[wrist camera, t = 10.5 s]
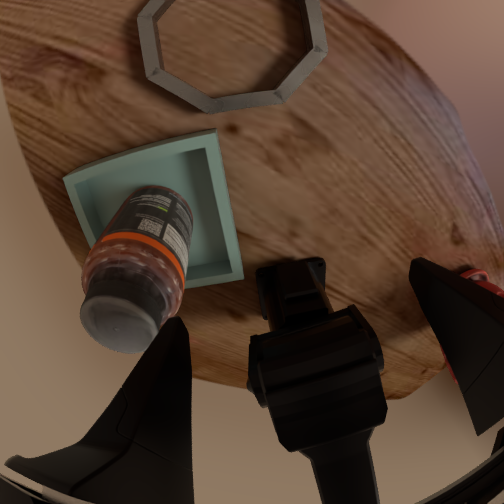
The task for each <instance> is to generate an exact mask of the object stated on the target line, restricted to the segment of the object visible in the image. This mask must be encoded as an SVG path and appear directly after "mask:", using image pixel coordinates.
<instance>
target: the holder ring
mask: <svg viewBox="0 0 504 504" xmlns="http://www.w3.org/2000/svg"><path fill="white" fill-rule="evenodd" d="M174 1H175V0H150V1H149V2H148V3H147V5H146V6H145V7H144V8H143V9H142V11H141V12H140V13H139V14H138V18H137V23H138V30H139V37H140V43H141V50H142V56H143V61H144V67H145V73H146V78H148V80H150V81H152V82H154V83H156V84H157V85H159V86H161V87H163V88H165V89H166V90H168V91H170V92H172V93H173V94H175V95H177V96H179V97H180V98H182V99H184V100H185V101H187V102H189V103H190V104H192V105H194V106H195V107H197V108H199V109H200V110H202V111H204V112H205V113H207V114H208V112H209V113H210V114H214V113H219V112H225V111H230V110H237V109H243V108H250V107H257V106H265V105H274V104H283V102H286V101H287V100H288V98H289V97H290V96H291V95H292V94H293V92H294V91H295V90H296V89H297V88H298V87H299V86H300V84H301V83H302V82H303V81H304V80H305V79H306V78H307V76H308V75H309V74H310V73H311V72H312V71H313V70H314V69H315V67H316V66H317V65H318V64H319V63H320V62H321V61H322V60H323V59H324V58H325V57H326V55H327V53H328V47H327V41H326V34H325V29H324V23H323V17H322V12H321V7H320V2H319V0H295V1H297V2H298V3H299V7H300V12H301V17H302V22H303V28H304V34H305V40H306V46H307V51H306V52H305V53H304V55H303V56H302V57H301V58H300V59H299V60H298V61H297V62H296V63H295V64H294V66H293V67H292V68H291V69H290V70H289V71H288V72H287V73H286V75H285V76H284V77H283V78H282V79H281V80H280V82H279V83H278V84H277V85H276V86H275V87H274V89H273V90H269V91H260V92H252V93H244V94H238V95H231V96H225V97H220V98H214V99H213V98H211V97H209V96H208V95H206V94H205V93H203V92H201V91H200V90H198V89H196V88H195V87H193V86H191V85H190V84H188V83H186V82H184V81H183V80H181V79H179V78H177V77H176V76H174V75H172V74H170V73H168V72H167V71H165V69H164V63H163V58H162V52H161V46H160V40H159V33H158V27H157V21H158V20H159V18H160V17H161V16H162V15H163V14H164V12H165V11H166V10H167V9H168V8H169V7H170V5H171V4H172V3H173V2H174Z"/></svg>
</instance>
